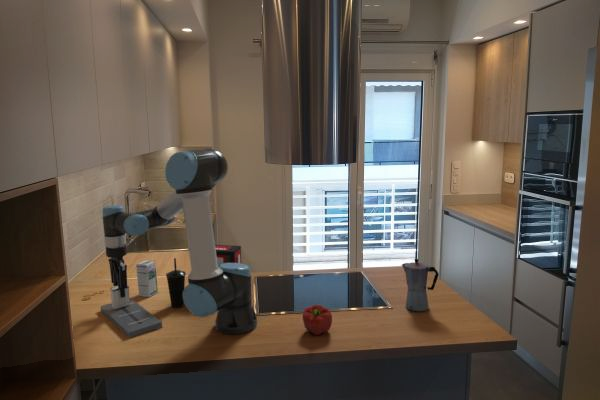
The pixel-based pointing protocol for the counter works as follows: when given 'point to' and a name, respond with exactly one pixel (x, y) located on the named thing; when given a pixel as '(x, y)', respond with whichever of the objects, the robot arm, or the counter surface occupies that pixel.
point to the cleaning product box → (228, 254)
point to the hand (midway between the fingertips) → (120, 302)
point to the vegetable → (317, 319)
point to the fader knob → (115, 297)
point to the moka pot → (418, 285)
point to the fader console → (131, 319)
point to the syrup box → (147, 278)
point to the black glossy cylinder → (176, 286)
